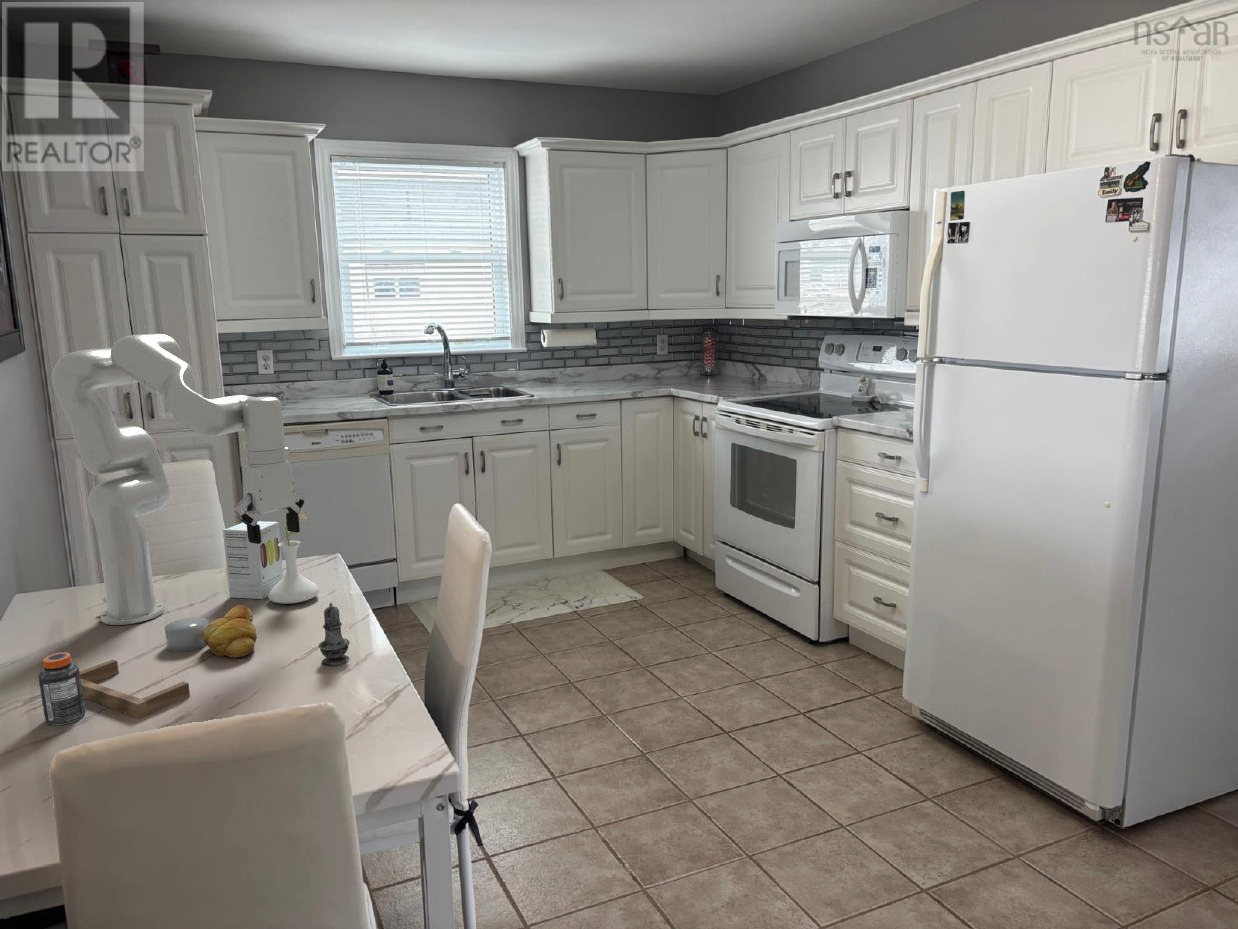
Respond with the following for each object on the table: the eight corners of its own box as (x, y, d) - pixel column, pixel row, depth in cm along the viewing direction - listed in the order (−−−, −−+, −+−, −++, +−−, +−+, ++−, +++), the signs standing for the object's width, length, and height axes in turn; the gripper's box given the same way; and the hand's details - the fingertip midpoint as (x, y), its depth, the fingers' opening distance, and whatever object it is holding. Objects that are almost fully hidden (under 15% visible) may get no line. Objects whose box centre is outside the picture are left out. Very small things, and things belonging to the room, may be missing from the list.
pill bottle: (57, 711, 156) (47, 650, 153) (92, 709, 156) (83, 648, 154) (38, 727, 150) (28, 664, 148) (74, 725, 150) (65, 662, 148)
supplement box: (263, 600, 211) (256, 531, 208) (228, 598, 213) (221, 529, 210) (285, 587, 220) (279, 521, 217) (252, 585, 222) (245, 519, 219)
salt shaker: (357, 656, 177) (352, 599, 174) (338, 668, 171) (334, 609, 169) (332, 653, 179) (327, 596, 176) (313, 665, 173) (308, 606, 171)
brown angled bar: (63, 691, 164) (61, 678, 163) (114, 671, 172) (112, 659, 171) (139, 718, 152) (138, 704, 152) (190, 696, 161) (188, 683, 160)
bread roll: (263, 656, 178) (259, 618, 176) (210, 667, 173) (206, 628, 172) (252, 636, 189) (249, 600, 187) (202, 646, 184) (198, 609, 182)
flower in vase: (316, 605, 207) (307, 500, 202) (264, 610, 204) (254, 503, 200) (323, 588, 219) (314, 488, 214) (274, 592, 217) (264, 491, 212)
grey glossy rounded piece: (158, 648, 183) (156, 627, 182) (193, 635, 190) (191, 615, 189) (183, 655, 179) (180, 634, 179) (218, 641, 186) (215, 621, 185)
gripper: (288, 449, 193) (296, 525, 197) (218, 463, 179) (227, 545, 182) (312, 451, 190) (319, 529, 193) (242, 465, 175) (251, 549, 178)
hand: (274, 537), depth 187 cm, fingers open, 9 cm apart
